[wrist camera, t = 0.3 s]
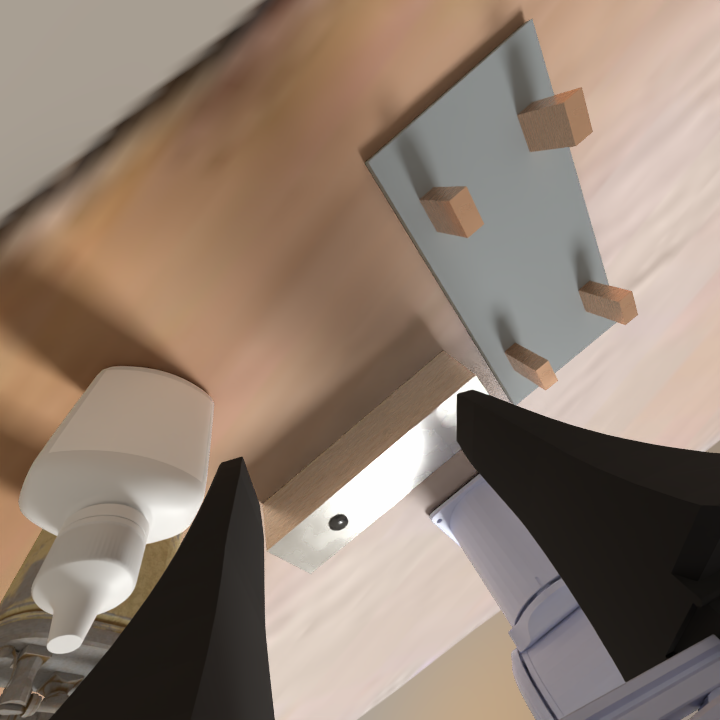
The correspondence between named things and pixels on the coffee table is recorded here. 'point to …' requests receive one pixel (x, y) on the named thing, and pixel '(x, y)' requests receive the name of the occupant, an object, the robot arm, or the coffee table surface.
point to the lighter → (32, 626)
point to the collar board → (506, 214)
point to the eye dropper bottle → (114, 490)
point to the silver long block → (369, 467)
